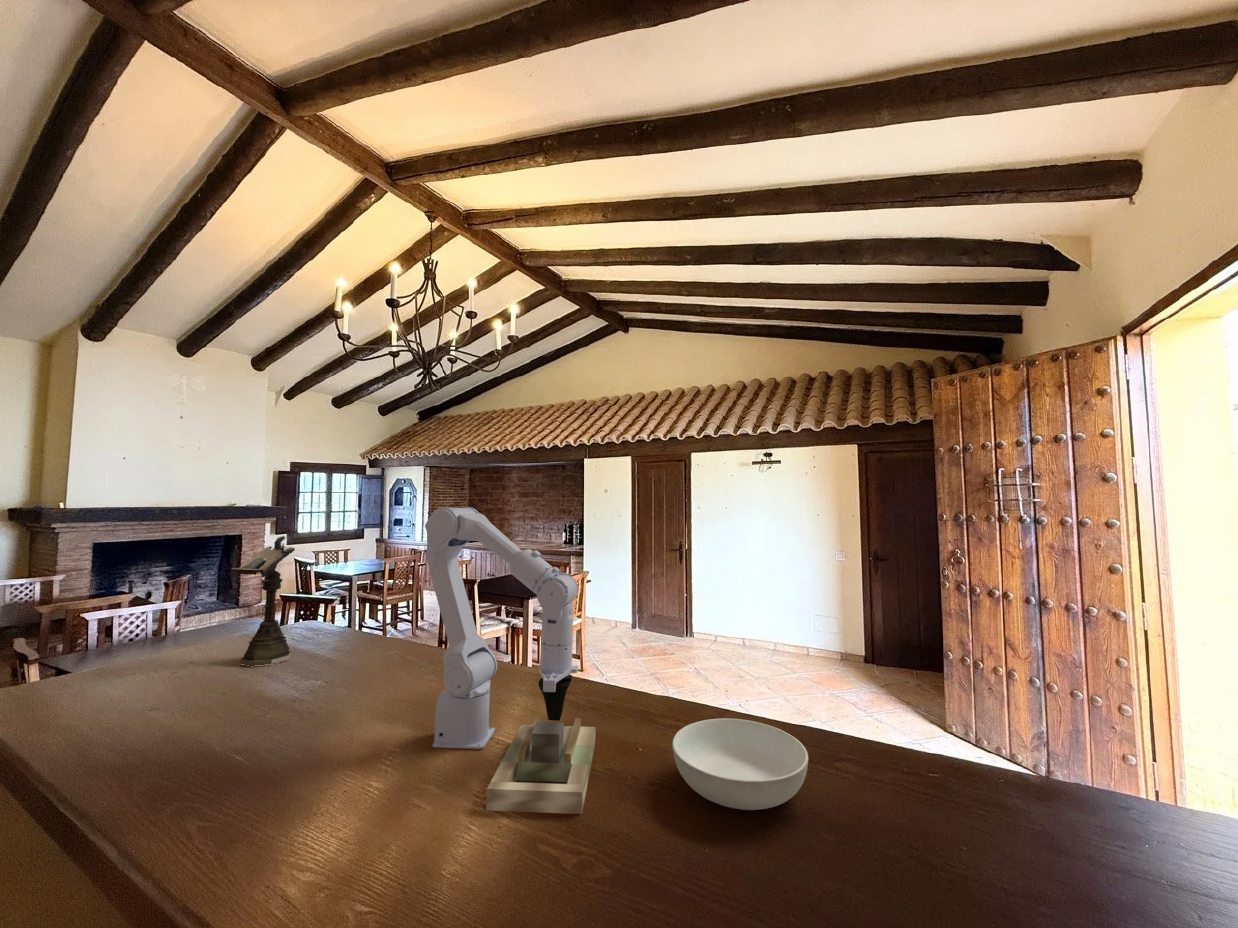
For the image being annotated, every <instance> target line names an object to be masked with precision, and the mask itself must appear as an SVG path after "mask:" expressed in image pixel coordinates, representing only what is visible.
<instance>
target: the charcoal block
mask: <svg viewBox="0 0 1238 928" xmlns="http://www.w3.org/2000/svg"><path fill="white" fill-rule="evenodd" d="M564 724H565V723H564V722H560V721H559V722H558V721H556V722H555V721H541V722H537V724H536V726H535V728H534V730H533V732H532V747H531V762H535V763H559V761H560V758H561V755H562V752H563V726H565V725H564Z"/></svg>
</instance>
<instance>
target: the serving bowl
mask: <svg viewBox="0 0 1238 928" xmlns="http://www.w3.org/2000/svg"><path fill="white" fill-rule="evenodd" d="M671 745H672V752H673V757H674V761H675V765H676V768H677V769H678V772H679V774H680V776H681V777H682V779H684V781H685V783H686V784H687V785H688V787H690V788H691V789H692V790H693V791H695V793H697V794H699V796H700V797H701V796H702V797H703V798H704V799H706V800H708V801H711V802H712V803H715V804H718V805H720V806H723V807H727V808H730V809H738V810H744V811H745V810H746V811H758V810H766V809H767V810H768V809H769V808H770V809H771V808H774V807H778V806H780V805H783V804H784V803H786V802H788V801H789V800H791V799H792V798H793V797H794V796H795V795H796V794H797V793H798V791H799V790H800V789H801V787H802V785H804V784H803V783H804V782H805V779H806V776H807V773H808V772H807V771H808V766H809V765H808V764H809V753H808V750H807V749H806V747H805V746H804V745H803V743H802V742H800V740H798V739H797V737H794V736H793V735H791V734H789V733H788V732H786V731H784V730H782V729H780V728H778V727H775V726H772V725H769V724H765V723H762V722H759V721H753V720H748V719H741V718H740V719H739V718H728V717H727V718H711V719H703V720H700V721H695V722H693V723H689V724H687V725H685V726H684V727H682V728H681V729H679V730H678V731H677V732H676V733H675V734H674V737H673V739H672V743H671Z"/></svg>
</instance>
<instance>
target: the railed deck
mask: <svg viewBox="0 0 1238 928" xmlns="http://www.w3.org/2000/svg"><path fill="white" fill-rule="evenodd" d="M537 722H542V716H536V717H535V719H534V721H533V723H532V724H520V727H519V729H518V731H517V733H515V736H514V738H513V740H512V741H511V743H510V745H509V747H508V749H507V750H506V752H505V754H504V756H503V758H502V760H501V762H500V764H499V765H498V767H497V769H496V771H495V773H494V775H493V777H492V779H491V781H490V782H489V784H488V786H487V788H486V801H485V811H492V812H493V811H494V812H515V813H518V812H519V813H520V812H521V813H543V814H544V813H545V814H548V813H549V814H571V815H582V814H583V809H584V804H585V799H586V794H587V789H588V788H587V787H588V784H589V783H588V782H589V777H590V773H591V772H590V771H591V769H592V768H591V767H592V761H593V757H594V752H595V746H596V726H582V718H580V717H579V718H578V717H575V718H574V723H573V725H572V726H571V725H564V726H563V752H562V755H561V758H560V761H559V763H535V762H531V747H532V732H533V730H534V728H535V726H536V724H537Z"/></svg>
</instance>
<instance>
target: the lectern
mask: <svg viewBox="0 0 1238 928" xmlns="http://www.w3.org/2000/svg"><path fill="white" fill-rule="evenodd" d="M285 540H286V536H285V535H283V536H279V537H277V538H276V540H275V541H274V542H273V543H274V547H273V546H271V545H270V546H266V547H264V548H262V550H260V551H259V552H258V553H257V554H255V555H254V556H253V557H252V558H251V559H250V560H248V561H246V563H244V564H243V565H241V566H240V567H232V568H230V571H231V573H229V576H230V577H231V576H232V575H233V574H235V573H237V574H238V575H246V576H248V575H250V576H253V575H254V576H257V574H258V573H260V575H261V577H262V578H264V579H262V580H261V581H260V582H261V584H262V586H261V590H263V591H265V594H266V595H265V605H263V607H264V609H265V610H264V619H263V621H261V622H260V623H259V625H258V626H259V627H258V629H257V630H256V633H255V634H254V636H252V637H251V640H250V641H248V644H249V645H248V646H247V649H246V651H245V653H244V654H243V656H242V658H241V659H240V664H245V665H249V666H255V665H265V664H271V663H274V662H277V661H280V660H283V659H287V658H289V657H290V655H291V654H292V653H293V651H291V650H290V646H289V645H288V642H287V637H286V636H284V635H285V633H283V631H282V629H281V627H280V625H279V623H280V622H279V621H278V620H277V619H276V618H275V609H276V607H277V603H276V597H277V596H276V595H277V592H278V591H277V590H280V589H281V587H282V585H281V583H282V582H283V581H284V580H283V579H282V578H281V576H282V575H281V573H280V572H279V571H277V570H276V569H277V566H278V564H279V563H280V562H281V561H283V560H284V559H285V558H287V557H289V555H290V554H292V553H293V552H294V551H295V549H296V548H295V547H292V546H288V547H287V546H285V544H284V543H282V542H283V541H285ZM240 664H239V665H240Z"/></svg>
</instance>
